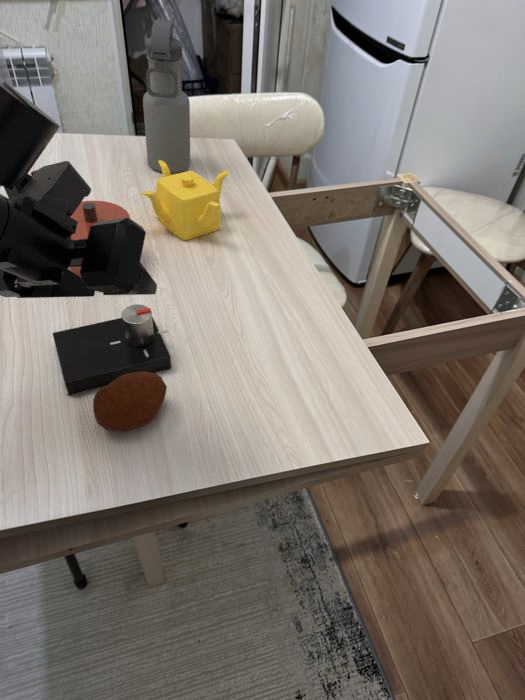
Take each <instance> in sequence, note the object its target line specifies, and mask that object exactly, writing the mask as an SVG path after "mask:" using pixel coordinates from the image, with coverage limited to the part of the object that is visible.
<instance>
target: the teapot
mask: <svg viewBox="0 0 525 700" xmlns="http://www.w3.org/2000/svg"><path fill="white" fill-rule="evenodd" d="M158 162H159V164H160V167H161V169H162V172H161V174H162V177H160V178H158V179H156V186H155V192H154V191H153V190H152V191H151V190H145V191H141V193H140V194H141V195H144V196H146V197H147V198H149V199H150V201H151V206H152V209H153V212H154V214H155V215H156V217H157V219H158V221H159V222H160V223H161V224H162V225H163V226H164V227H165V228H166V229H167V231H169V232H170V233H172V234H173V235H174V236H176V237H177V238H179V239H180V240H182V241H189V240H192V239H196V238H199V237H202V236H205V235H207V234H211V233H214V232H216V231H218V230H219V229H220V227H221V223H222V211H221V201H220V198H221V192H222V185H223V181H224V180H225V178H226V177H227V176H228V175H229V174H230V170H223V171H221V172H219V173H218V175H217V176H216V177H215V179H214V181H213V184H211V182H209V181H208V180H207V179H205V178H204V177H203V176H202V175H200V174H198V173H196V172H195V171H193V170H189V171H182V172H178V173H173V174H172V173H170V170H169V168H168V166H167V164H166V163H165V162H164V161H162V160H159V161H158Z"/></svg>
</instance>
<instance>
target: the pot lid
mask: <svg viewBox="0 0 525 700" xmlns="http://www.w3.org/2000/svg"><path fill="white" fill-rule="evenodd" d="M127 217H128V218H130V219H131V216H130V213H129V212H128V211H127V210H126V209H125V207H123V206H120V205H118V204H116V203H113V202H109V201H104V200H82V202H81V203H80V205H79V206H78V208H77V209H76V211H75V212H74V213H73V215H72V216H71V218H73V219H74V220H76V221H78V224H77V228H76V233H75V234H72V235H71V239H72V240H79V239H88V235H89V230H90V226H92V225H94V224H96V223H98V222H100V221H106V220H113V219H120V218H127Z"/></svg>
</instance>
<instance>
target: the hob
mask: <svg viewBox="0 0 525 700" xmlns="http://www.w3.org/2000/svg"><path fill="white" fill-rule="evenodd" d="M152 322H153V333H154V338H153V341H152V342H151V343H150V344H148V345H147V346H144V347H133V346H130V345H129V344H128V343H127V342H126V341H125V336H124V329H123V322H122V317H118V318H115V319H110V320H106V321H101V322H96V323H92V324H87V325H82V326H78V327H73V328H69V329H68V328H67V329H63V330H60V331H55V332H52V337H53V341H54V346H55V350H56V352H57V359H58V361H59V365H60V371H61V374H62V377H63V381H64V382H63V383H64V386H65V389H66V392H67V395H68V396H73V395H77V394H80V393H83V392H87V391H88V392H89V391H91V390H95V389H98V388H99V389H100V388H103V387H104V386H106V385H108V384H110V383H111V382H112V381H114V380H115V379H117V378H118V377H120V376H122V375H125V374H128V373H134V372H141V371H146V372H151V373H155V374H157V373H158V372H163V371H167V370H170V369H172V357H171V354H170V352H169V350H168V348H167V345H166V343H165V341H164V339H163V336H162V334H166V333H168V329H164V330H159V328H158V326H157V323H156V321H155V319H154V316H152Z"/></svg>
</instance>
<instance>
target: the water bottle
mask: <svg viewBox="0 0 525 700" xmlns="http://www.w3.org/2000/svg"><path fill="white" fill-rule="evenodd" d="M174 24H175V23H174V21H173V20H171V19H167V18H158V19H155V20H154V22H153V24H152V26H151V32H150V37H149V38H147V39H146V40H145V46H146V47H145V48H146V59H147V63H148V68H147V70H146V72H145V81H146V92H145V93H143V98H142V107H143V120H144V132H145V146H146V148H145V149H146V160H147V161H146V162H147V164H148V165H149V167H150V168H151V169H153V170H155V172H159V173H162V169H161V167H160V164H159V162H158V161H159V160H162V161H164V162H165V163H166V164H167V166H168V168H169V170H170V173H171V174H178V173H182V172H185V171H186V170H187V169H188V168H190V165H191V104H190V98H189V97H188V95H187V93H186V92H184V91H183V90H182V89H183V87H182V86H183V85H182V84H183V83H182V82H183V81H182V62H183V43H182V42H181V40H179V39H178V38H175V37H173V36H174V35H173V30H174V29H175V25H174Z"/></svg>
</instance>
